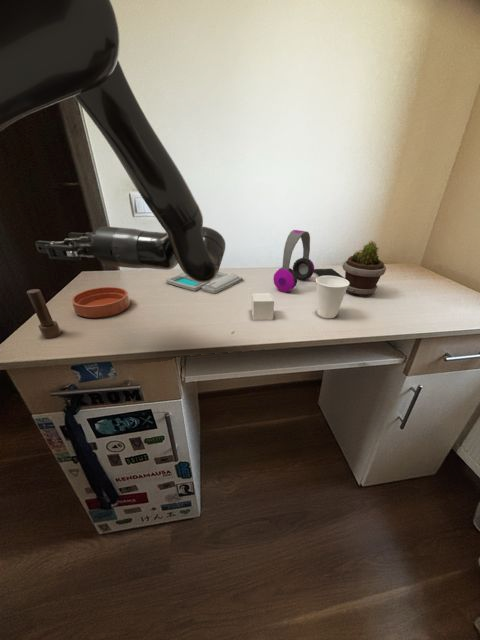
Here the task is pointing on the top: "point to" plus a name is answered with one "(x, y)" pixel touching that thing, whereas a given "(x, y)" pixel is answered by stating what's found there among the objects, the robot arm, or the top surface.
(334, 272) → the cell phone
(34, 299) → the muddler
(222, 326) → the top surface
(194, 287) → the office telephone
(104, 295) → the bowl
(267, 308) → the white cube
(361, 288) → the flowerpot
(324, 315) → the cup
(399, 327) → the top surface
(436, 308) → the top surface
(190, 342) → the top surface
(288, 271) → the headphones
